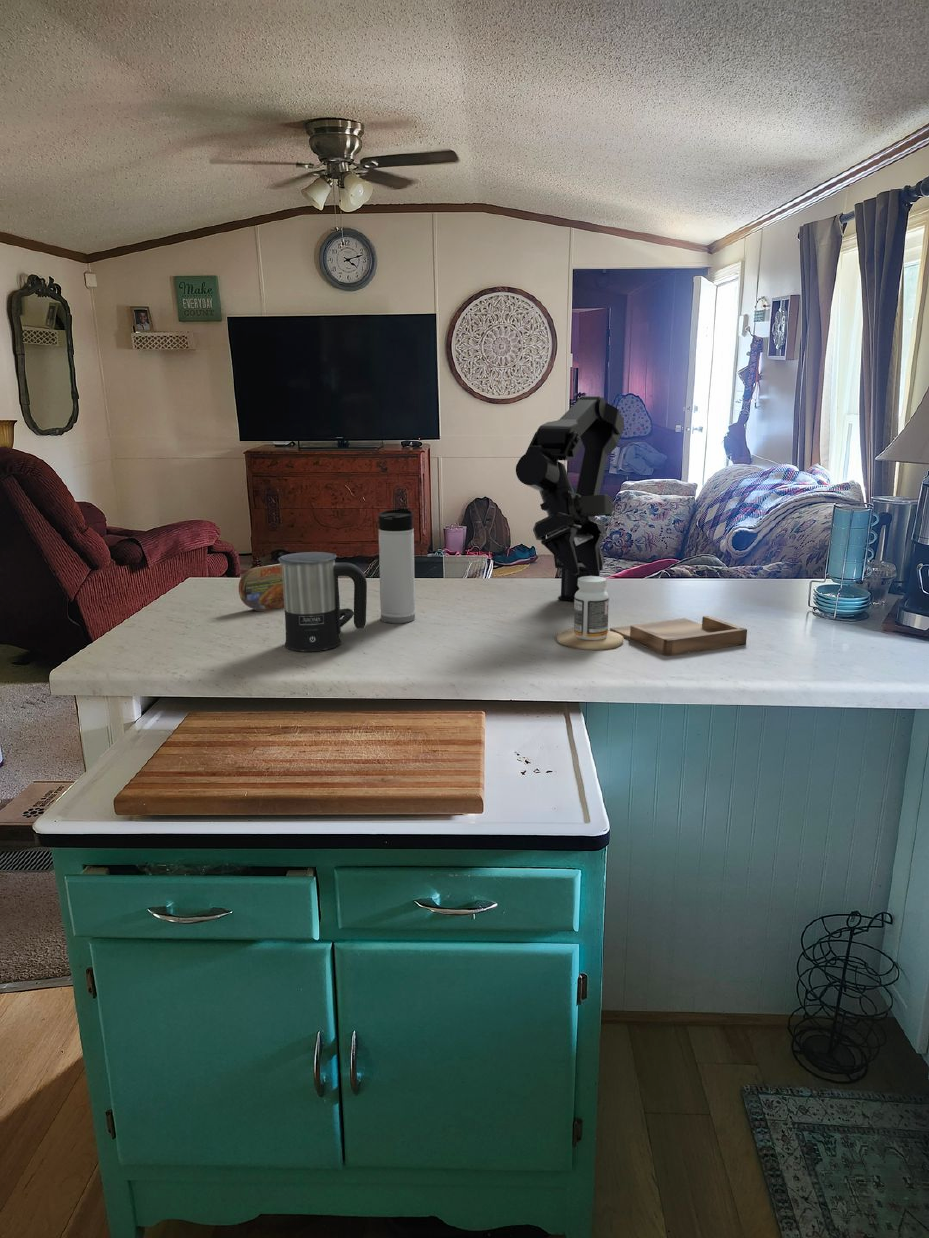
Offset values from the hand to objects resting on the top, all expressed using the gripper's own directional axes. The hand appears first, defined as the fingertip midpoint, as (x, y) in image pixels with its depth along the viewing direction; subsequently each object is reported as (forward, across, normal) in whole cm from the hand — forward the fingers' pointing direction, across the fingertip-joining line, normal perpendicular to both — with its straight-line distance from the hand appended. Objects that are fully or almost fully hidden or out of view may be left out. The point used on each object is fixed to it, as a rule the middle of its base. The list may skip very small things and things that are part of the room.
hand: (587, 575), depth 152 cm
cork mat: (+11, -5, +2) cm, 13 cm away
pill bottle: (+11, -5, +2) cm, 12 cm away
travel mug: (-5, -10, +34) cm, 35 cm away
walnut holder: (+15, +4, -10) cm, 18 cm away
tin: (-16, -14, +57) cm, 60 cm away
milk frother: (-3, -26, +39) cm, 47 cm away
